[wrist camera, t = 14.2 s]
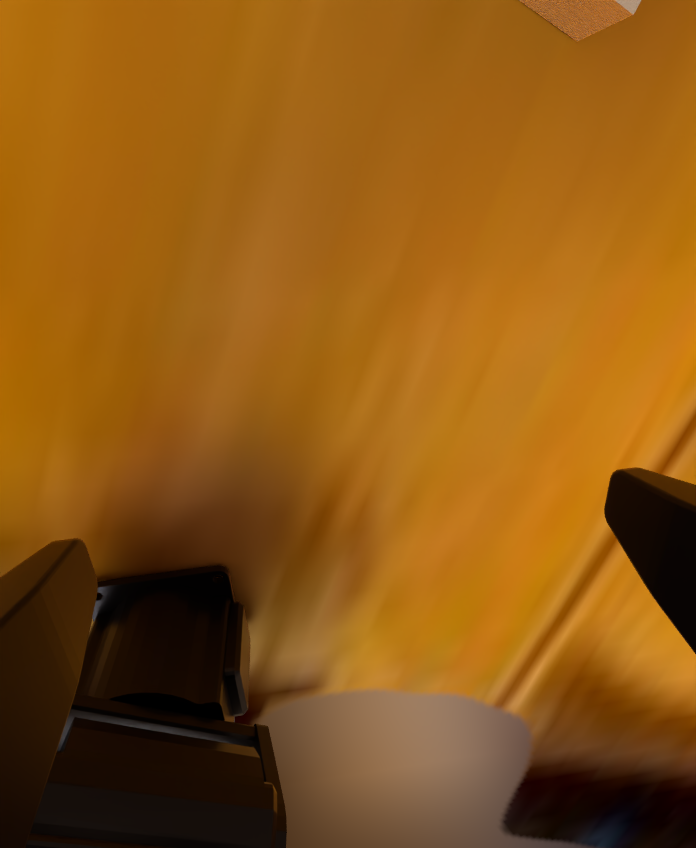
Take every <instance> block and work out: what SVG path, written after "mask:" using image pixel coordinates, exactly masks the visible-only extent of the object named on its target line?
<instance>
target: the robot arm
mask: <svg viewBox="0 0 696 848" xmlns="http://www.w3.org/2000/svg"><path fill="white" fill-rule="evenodd" d="M604 512H605V518H606V521H607V523H608V525H609V527H610V528H611V530H612V531H613V533H614V535H615V536H616V538H617V540H618V541H619V543H620V545H621V546H622V548H623V550H624V551H625V553H626V554H627V556H628V558H629V559H630V561H631V563H632V564H633V566H634V568H635V569H636V571H637V573H638V574H639V576H640V577H641V579H642V581H643V582H644V584H645V585H646V587H647V589H648V590H649V592H650V593H651V595H652V596H653V598H654V599H655V600H656V602H657V603H658V604H659V606H660V607H661V609H662V610H663V611H664V613H665V614H666V615H667V617H668V618H669V619H670V621H671V622H672V623H673V625H674V626H675V627H676V629H677V630H678V631H679V633H680V634H681V635H682V637H683V638H684V639H685V641H686V642H687V643H688V645H689V646H690V647H691V649H692V650H693V651H694V652H695V654H696V485H694V484H691V483H688V482H684V481H681V480H678V479H675V478H671V477H668V476H665V475H662V474H658V473H655V472H652V471H649V470H645V469H642V468H627V469H620V470H616V471H615V472H613V474H612V475H611V478H610V482H609V487H608V492H607V498H606V503H605V508H604ZM216 575H221V576H223V577H221V578H217V577H215V576H216ZM97 592H99V593H101V594H97ZM92 618H93V621H94V623H93V626H92V628H91V631H90V626H91V621H92ZM89 631H90V633H89ZM249 663H250V636H249V630H248V625H247V620H246V614H245V609H244V605H243V604H242V603H240V602H235V597H234V592H233V587H232V582H231V577H230V572H229V570H228V569H227V568H226V567H224V566H222V565H217V566H209V567H202V568H195V569H188V570H180V571H173V572H166V573H158V574H151V575H144V576H136V577H129V578H122V579H114V580H107V581H100V582H97V578H96V574H95V571H94V568H93V565H92V563H91V560H90V557H89V554H88V551H87V548H86V545H85V543H84V542H83V541H82V540H80V539H78V538H75V539H67V540H59V541H54V542H51V543H50V544H48V545H47V546H45V547H44V548H42V549H41V550H39V551H38V552H36V553H35V554H34V555H32V556H31V557H29V558H28V559H26V560H25V561H23V562H22V563H21V564H19V565H18V566H16V567H15V568H13V569H12V570H10V571H9V572H7V573H6V574H5V575H3V576H2V577H0V848H286V833H287V832H286V831H287V830H286V812H285V805H284V800H283V795H282V790H281V785H280V781H279V776H278V771H277V766H276V761H275V757H274V752H273V747H272V742H271V738H270V733H269V729H268V726H265V725H259V724H255V725H254V726H250V725H245V724H240V723H234V716H240V715H243V714H244V713H245V712H246V710H247V709H248V691H249Z"/></svg>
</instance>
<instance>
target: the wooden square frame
mask: <svg viewBox="0 0 696 848" xmlns="http://www.w3.org/2000/svg"><path fill="white" fill-rule="evenodd" d="M519 1H521V2H522V3H524V4H525V5H526V6H528V7H529V8H531V9H532V10H533V11H535V12H536V13H538V14H539V15H540V16H542V17H543V18H545V19H546V20H547V21H549V22H550V23H552V24H553V25H554V26H556V27H557V28H559V29H560V30H561V31H563V32H564V33H565V34H567V35H568V36H570V37H571V38H572V39H574V40H575V41H579V40H581V39H584V38H586V37H588V36H590V35H592V34H594V33H596V32H598V31H600V30H602V29H605V28H607V27H609V26H611V25H613V24H615V23H617V22H619V21H621V20H624V19H626V18H628V17H630V16H632V15H634V13H635V11H636V9H637V7H638V5H639V4H640V2H641V0H519Z"/></svg>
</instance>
